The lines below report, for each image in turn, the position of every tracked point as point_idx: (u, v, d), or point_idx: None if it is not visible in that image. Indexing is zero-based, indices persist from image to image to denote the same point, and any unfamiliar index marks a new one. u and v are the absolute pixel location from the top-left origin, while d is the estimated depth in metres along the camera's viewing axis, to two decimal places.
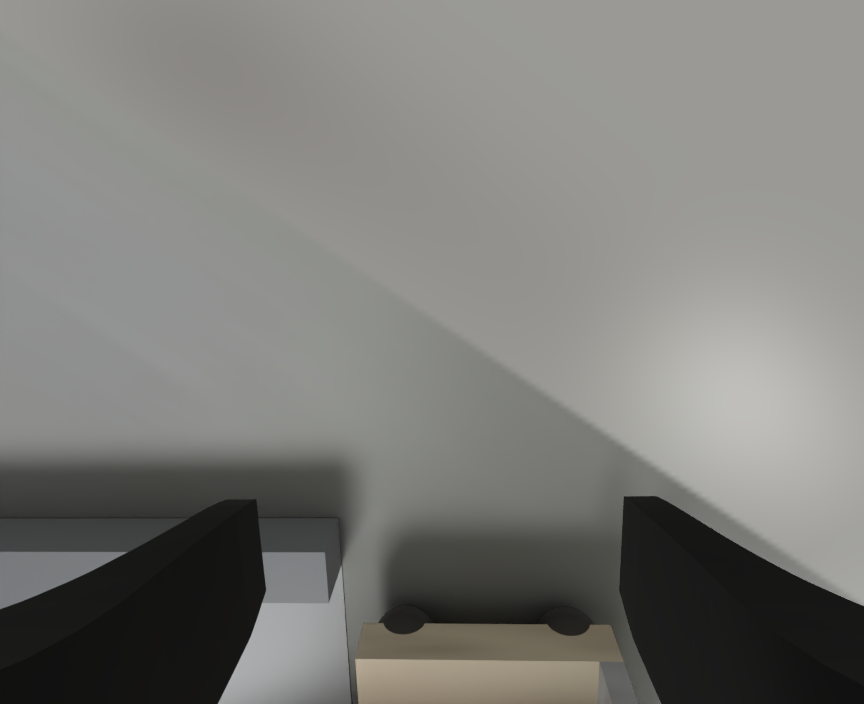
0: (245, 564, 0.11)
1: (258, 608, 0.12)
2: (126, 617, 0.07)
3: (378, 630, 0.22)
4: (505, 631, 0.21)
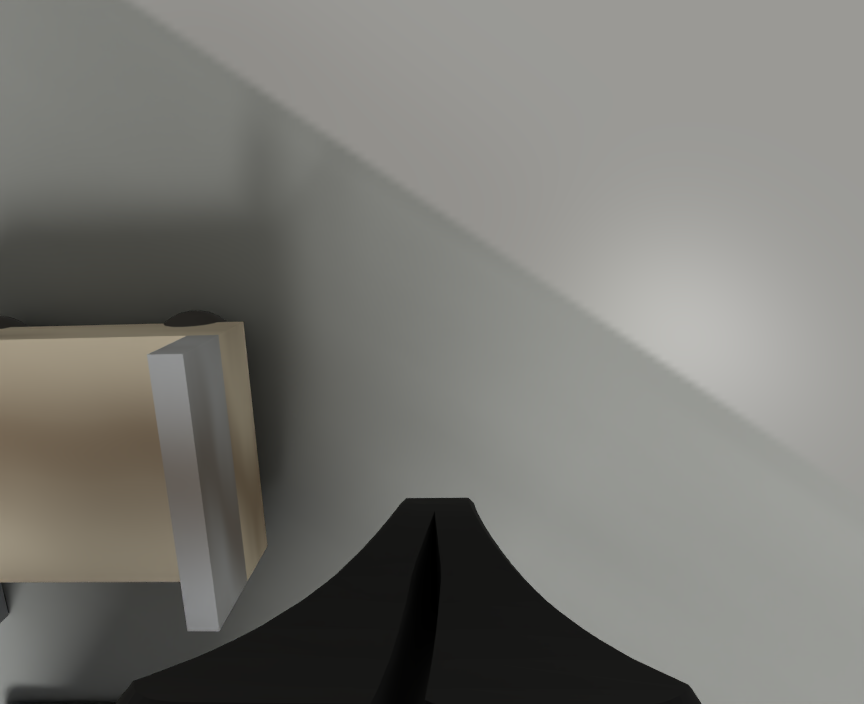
0: (437, 564, 0.11)
1: None
2: (407, 618, 0.07)
3: None
4: (102, 327, 0.17)
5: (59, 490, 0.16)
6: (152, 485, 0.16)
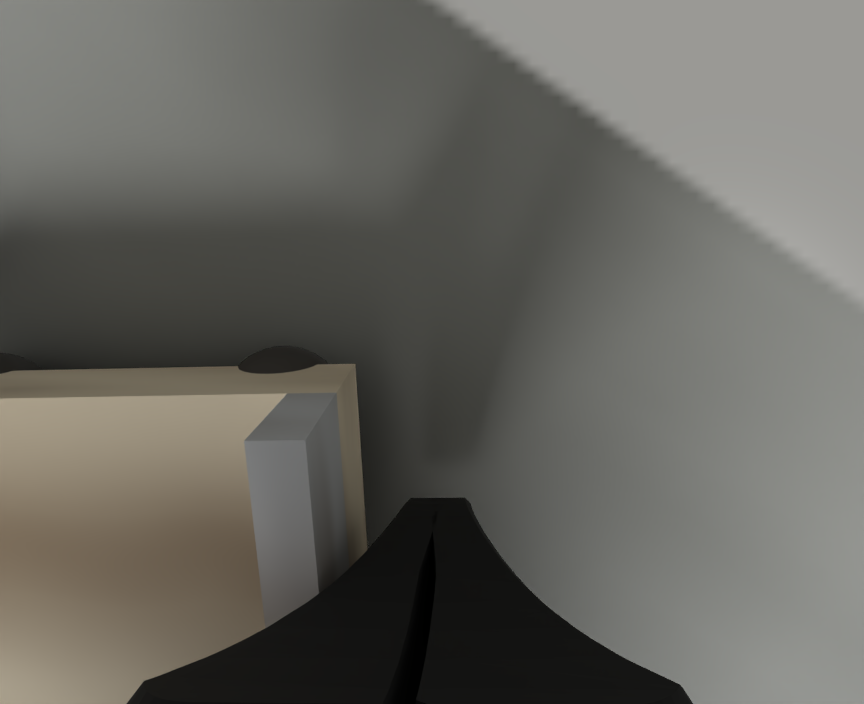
0: None
1: None
2: (415, 618, 0.07)
3: None
4: (148, 373, 0.11)
5: (86, 617, 0.11)
6: (226, 612, 0.11)
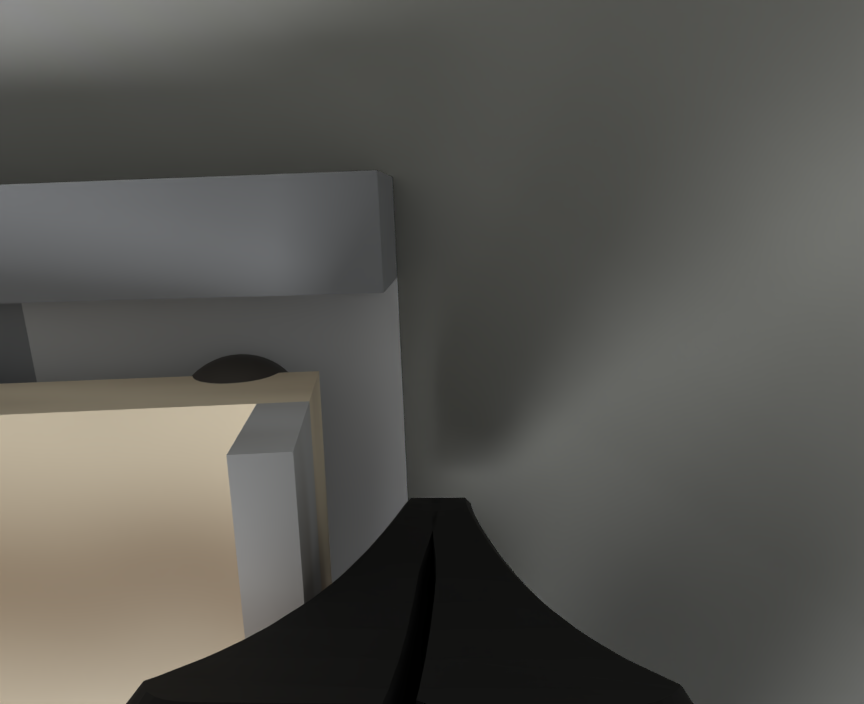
0: None
1: None
2: (414, 618, 0.07)
3: None
4: (92, 385, 0.10)
5: (24, 657, 0.10)
6: (186, 638, 0.10)
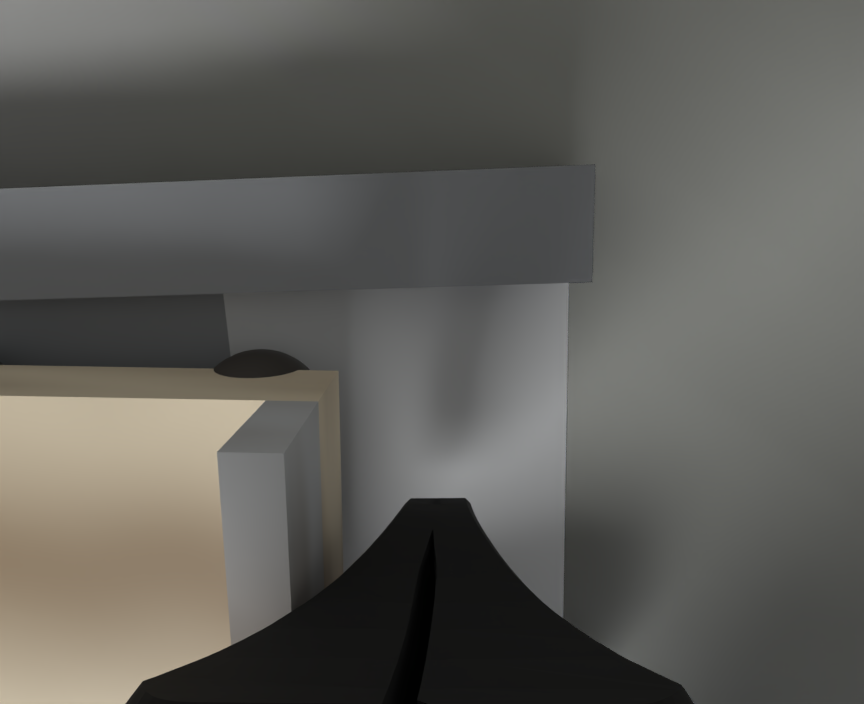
0: None
1: None
2: (414, 618, 0.07)
3: None
4: (117, 372, 0.10)
5: (37, 633, 0.10)
6: (190, 630, 0.10)
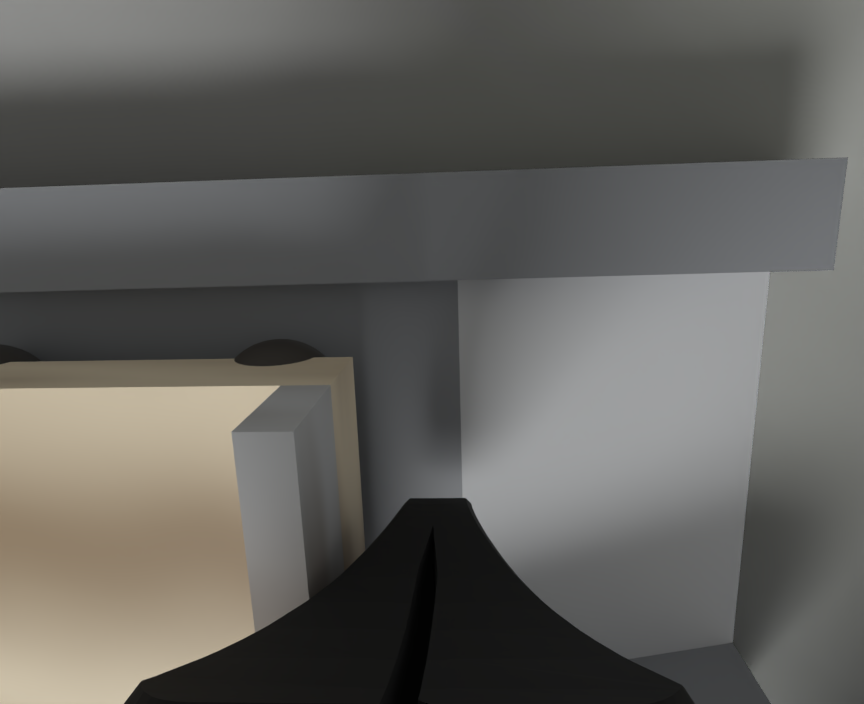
0: None
1: None
2: (412, 618, 0.07)
3: None
4: (144, 364, 0.11)
5: (79, 611, 0.11)
6: (220, 606, 0.11)
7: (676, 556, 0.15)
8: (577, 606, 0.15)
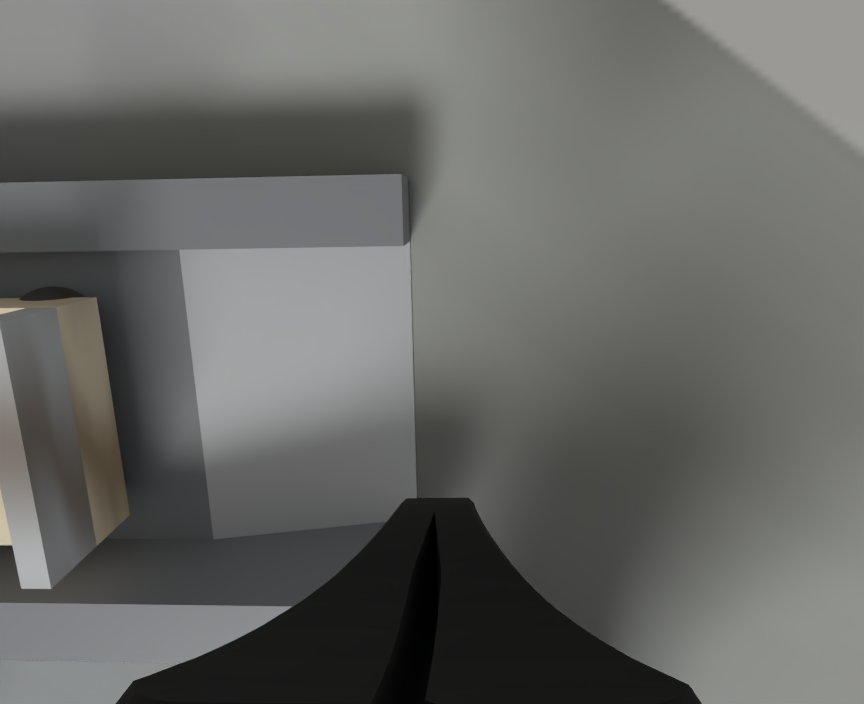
0: (437, 564, 0.11)
1: None
2: (407, 618, 0.07)
3: None
4: None
5: None
6: None
7: (364, 451, 0.21)
8: (292, 485, 0.21)
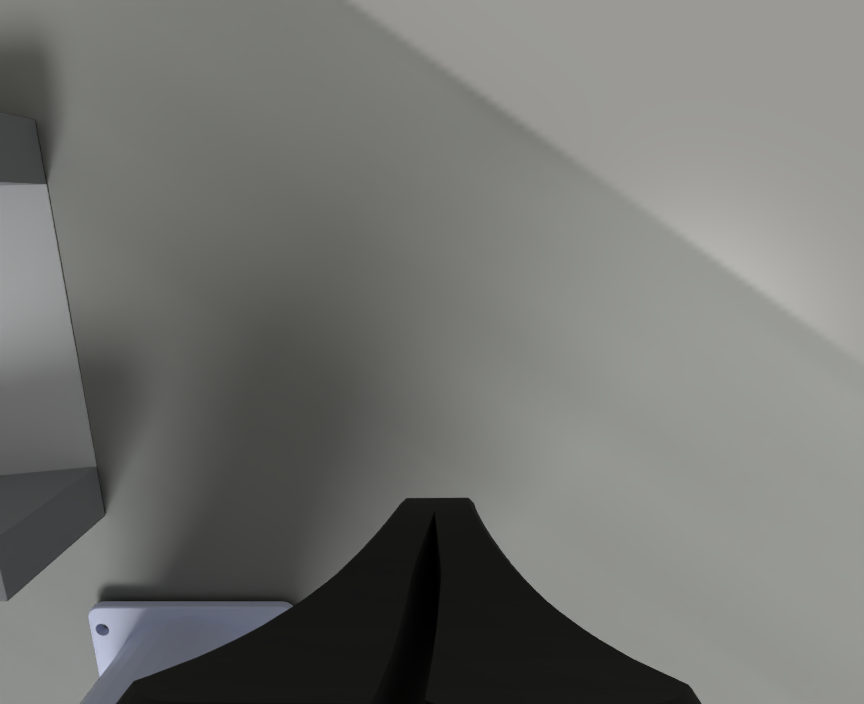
0: (437, 564, 0.11)
1: None
2: (407, 618, 0.07)
3: None
4: None
5: None
6: None
7: (28, 398, 0.21)
8: None
